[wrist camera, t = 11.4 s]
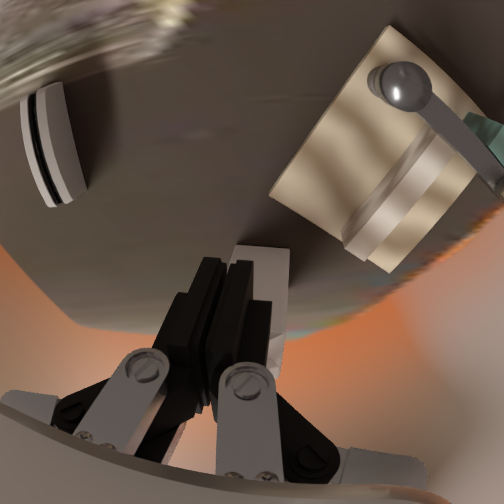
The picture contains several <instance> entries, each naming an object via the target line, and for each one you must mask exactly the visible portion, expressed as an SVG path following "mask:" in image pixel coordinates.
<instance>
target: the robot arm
mask: <svg viewBox="0 0 504 504" xmlns="http://www.w3.org/2000/svg"><path fill="white" fill-rule="evenodd" d="M253 284H254V261H251V260H238V259H237V261H236V264H235V263H230V266H229V269H228V272H227V264H226V263H222V262H221V259H220V258H213V257H204V258H203V260H202V262H201V264H200V266H199V269H198V271H197V273H196V275H195V278H194V280H193V282H192V284H191V287H190V289H189V291H188V293H182V292H179V293H177V295H176V296H175V298H174V300H173V302H172V305H171V307H170V309H169V311H168V313H167V315H166V317H165V320H164V322H163V324H162V326H161V328H160V330H159V333H158V335H157V337H156V339H155V342H154V344H153V346H152V348H140V349H137V350H134V351H132V352H131V353H129V354H128V355H127V356H126V357H125V358H124V359H123V360H122V362H121V363H120V364H119V366H118V367H117V369H116V370H115V372H114V373H113V375H112V376H111V377H110V378H108V379H106V380H103V381H101V382H99V383H96V384H94V385H92V386H89V387H87V388H85V389H82V390H80V391H78V392H75V393H73V394H71V395H68V396H66V397H64V398H63V399H59V397H58V396H54V395H46V394H39V393H31V392H25V391H19V390H10V391H8V392H6V393H5V394H4V395H3V396H2V397H1V399H0V504H451V503H450V502H448V500H446V499H444V498H443V497H441V496H438V495H436V494H434V493H431V492H428V491H426V484H427V469H426V467H425V465H424V463H423V462H421V461H420V460H419V459H417V458H415V457H411V456H405V455H397V454H390V453H383V452H376V451H370V450H364V449H359V448H353V447H350V448H349V449H345V448H340V447H336V446H335V445H334V444H333V443H332V442H331V441H330V440H329V439H328V438H326V437H325V436H324V435H323V434H322V433H321V432H320V431H319V430H317V429H316V428H315V427H314V426H313V425H312V424H311V423H310V422H308V421H307V420H306V419H305V418H304V417H303V416H302V415H301V414H300V413H299V412H298V411H296V410H295V409H294V408H293V407H292V406H291V405H290V404H289V403H288V402H287V401H286V400H285V399H284V398H282V397H281V396H280V395H279V394H278V393H277V392H276V386H275V380H274V376H273V375H272V373H271V372H270V371H269V370H268V369H267V368H266V365H267V356H268V348H269V339H270V329H271V317H272V301H265V300H253ZM210 401H211V405H212V411H213V416H214V420H215V422H216V423H217V443H216V475H213V474H207V473H202V472H196V471H191V470H186V469H182V468H177V467H172V466H168V465H167V464H168V462H169V460H170V458H171V456H172V454H173V452H174V450H175V447H176V446H177V444H178V441H179V439H180V437H181V435H182V433H183V431H184V429H185V426H186V421H187V420H189V419H191V418H193V417H194V415H195V413H198V414H201V413H202V410H203V406H209V405H210Z"/></svg>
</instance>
